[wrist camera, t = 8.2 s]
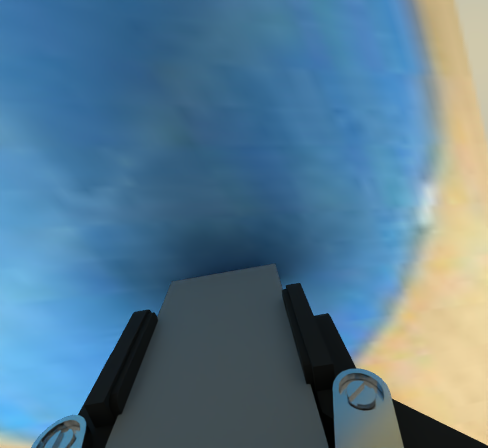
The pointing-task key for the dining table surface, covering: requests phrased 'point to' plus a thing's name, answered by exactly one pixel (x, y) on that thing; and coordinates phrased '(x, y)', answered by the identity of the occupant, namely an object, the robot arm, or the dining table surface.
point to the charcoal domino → (221, 371)
